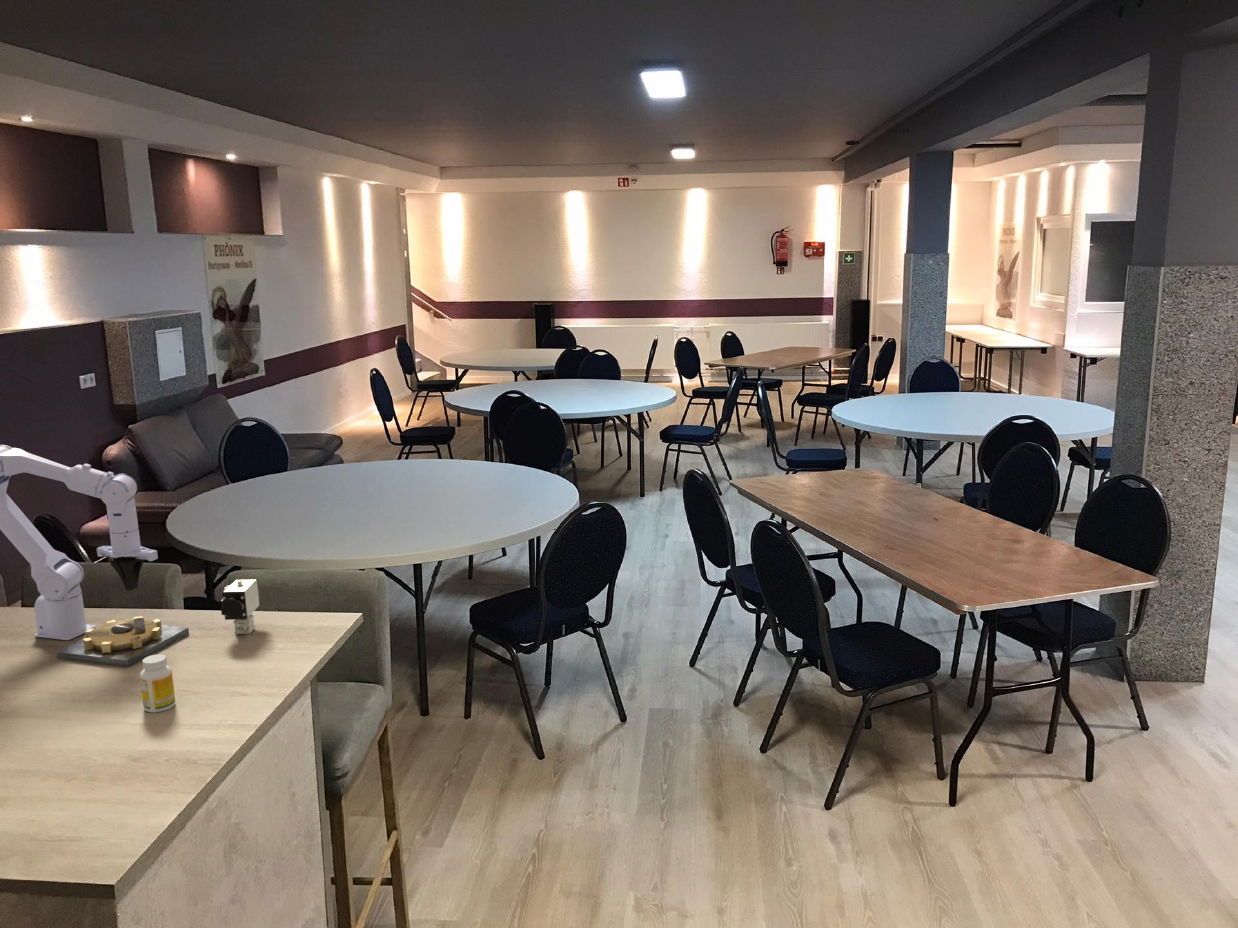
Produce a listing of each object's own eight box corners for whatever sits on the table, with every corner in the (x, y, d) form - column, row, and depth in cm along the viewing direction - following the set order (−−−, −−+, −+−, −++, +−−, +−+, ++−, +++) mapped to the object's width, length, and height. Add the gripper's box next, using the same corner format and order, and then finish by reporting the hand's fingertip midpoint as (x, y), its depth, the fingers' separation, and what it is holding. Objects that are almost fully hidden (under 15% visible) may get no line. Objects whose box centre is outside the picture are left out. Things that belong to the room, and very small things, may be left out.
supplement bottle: (138, 713, 177) (132, 664, 175) (152, 700, 182) (146, 652, 180) (167, 713, 177) (161, 664, 175) (180, 699, 182) (175, 652, 180)
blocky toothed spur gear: (68, 646, 203) (65, 624, 202) (126, 621, 216) (123, 600, 215) (121, 656, 198) (118, 633, 197) (177, 630, 211) (174, 608, 210)
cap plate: (57, 658, 201) (56, 651, 201) (122, 626, 218) (121, 620, 218) (128, 667, 197) (127, 660, 196) (189, 633, 213) (188, 627, 213)
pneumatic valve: (264, 621, 220) (259, 571, 217) (246, 641, 209) (241, 589, 206) (239, 622, 220) (234, 572, 217) (220, 642, 208) (215, 590, 206)
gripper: (82, 533, 210) (91, 591, 213) (137, 537, 207) (145, 597, 209) (107, 524, 217) (115, 581, 220) (161, 528, 213) (168, 586, 216)
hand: (131, 588), depth 215 cm, fingers closed
